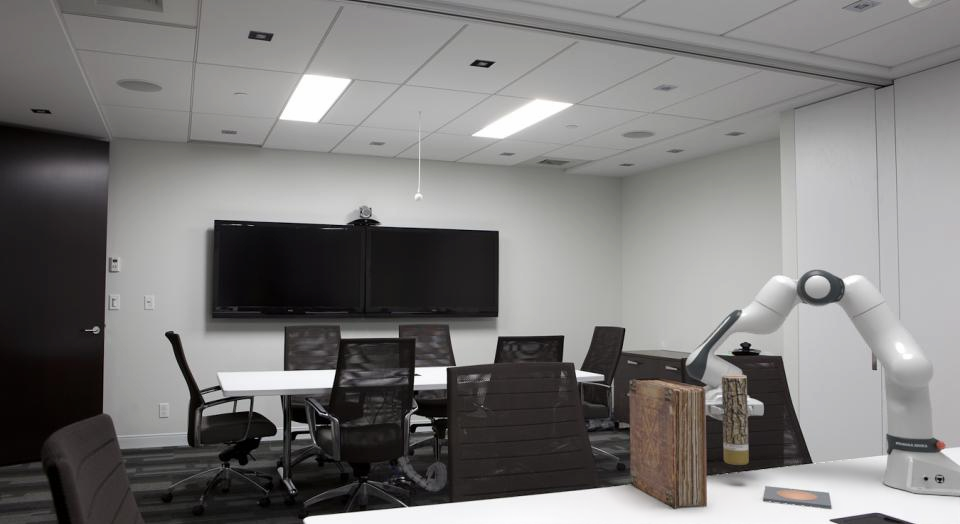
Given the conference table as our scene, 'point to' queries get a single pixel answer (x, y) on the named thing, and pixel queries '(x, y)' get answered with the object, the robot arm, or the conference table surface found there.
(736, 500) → the conference table surface
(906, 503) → the conference table surface
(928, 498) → the conference table surface
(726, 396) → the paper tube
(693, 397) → the book
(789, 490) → the card
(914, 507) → the conference table surface
